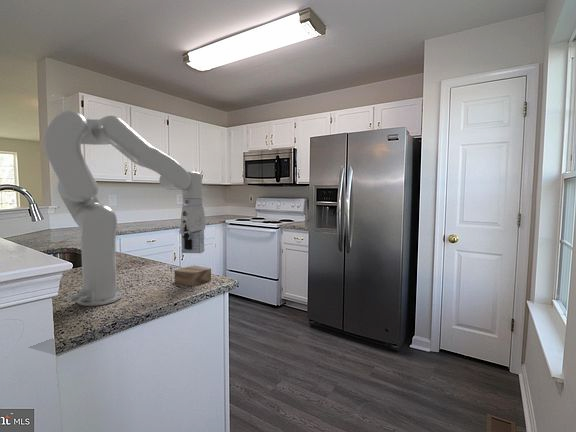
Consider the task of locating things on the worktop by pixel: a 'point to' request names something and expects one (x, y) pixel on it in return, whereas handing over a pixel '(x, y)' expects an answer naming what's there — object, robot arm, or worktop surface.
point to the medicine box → (195, 242)
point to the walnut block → (192, 275)
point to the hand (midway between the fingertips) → (193, 247)
